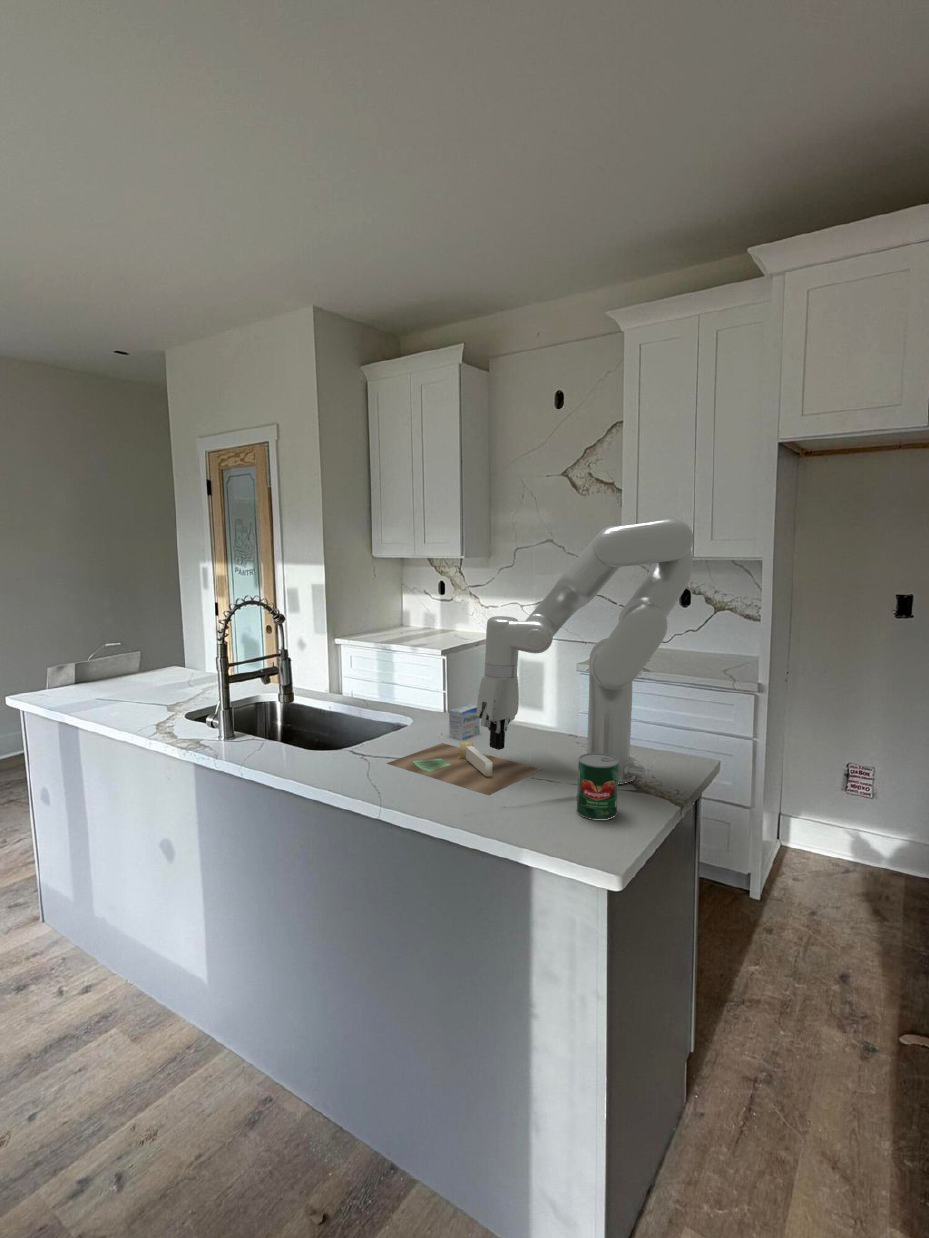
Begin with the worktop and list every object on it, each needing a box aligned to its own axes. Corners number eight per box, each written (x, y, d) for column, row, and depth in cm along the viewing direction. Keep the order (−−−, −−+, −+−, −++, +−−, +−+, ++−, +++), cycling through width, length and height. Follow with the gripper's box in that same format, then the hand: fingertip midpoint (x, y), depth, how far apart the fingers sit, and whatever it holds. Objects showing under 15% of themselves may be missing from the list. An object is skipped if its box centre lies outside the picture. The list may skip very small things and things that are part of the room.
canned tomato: (587, 823, 132) (588, 767, 130) (570, 806, 139) (571, 754, 138) (624, 818, 134) (626, 764, 132) (605, 803, 141) (607, 751, 140)
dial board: (541, 774, 158) (541, 768, 157) (488, 800, 142) (489, 794, 142) (442, 747, 176) (442, 742, 176) (386, 768, 161) (386, 762, 161)
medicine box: (462, 744, 179) (462, 712, 178) (448, 741, 181) (448, 709, 180) (479, 737, 185) (480, 706, 184) (466, 734, 188) (466, 703, 187)
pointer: (458, 755, 166) (458, 741, 165) (470, 753, 167) (470, 740, 166) (483, 777, 151) (483, 762, 150) (496, 775, 152) (496, 760, 152)
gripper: (509, 664, 165) (505, 737, 168) (466, 671, 155) (462, 750, 157) (534, 669, 160) (529, 745, 163) (491, 677, 150) (487, 758, 152)
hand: (496, 747), depth 160 cm, fingers closed
